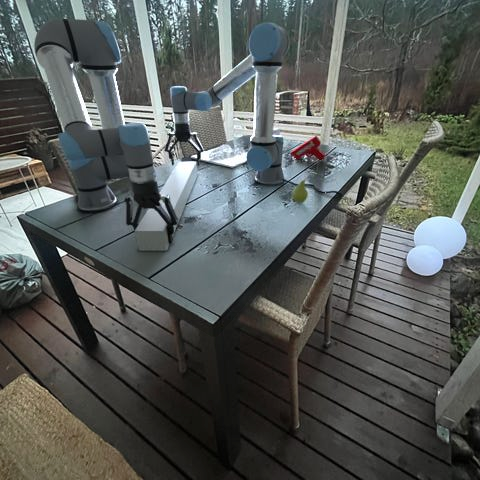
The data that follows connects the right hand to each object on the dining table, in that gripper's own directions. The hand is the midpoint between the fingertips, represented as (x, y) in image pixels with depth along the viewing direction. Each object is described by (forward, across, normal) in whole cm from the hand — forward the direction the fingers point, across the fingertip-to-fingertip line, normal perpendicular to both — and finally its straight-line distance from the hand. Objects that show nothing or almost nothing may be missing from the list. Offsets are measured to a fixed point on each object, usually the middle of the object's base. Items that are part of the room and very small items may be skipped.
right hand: (185, 165), depth 145 cm
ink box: (+7, +54, +70) cm, 89 cm away
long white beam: (+7, 0, -33) cm, 33 cm away
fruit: (+6, +56, -32) cm, 65 cm away
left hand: (+6, 0, -65) cm, 65 cm away
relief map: (+7, +19, +38) cm, 43 cm away
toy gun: (+6, +72, +32) cm, 79 cm away
